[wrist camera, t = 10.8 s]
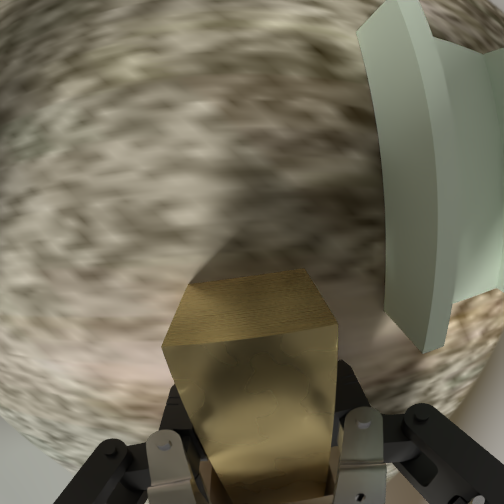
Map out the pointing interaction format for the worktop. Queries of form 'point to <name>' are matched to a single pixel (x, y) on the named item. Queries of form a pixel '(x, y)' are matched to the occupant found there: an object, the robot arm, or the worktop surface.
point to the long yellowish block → (259, 382)
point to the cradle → (436, 167)
